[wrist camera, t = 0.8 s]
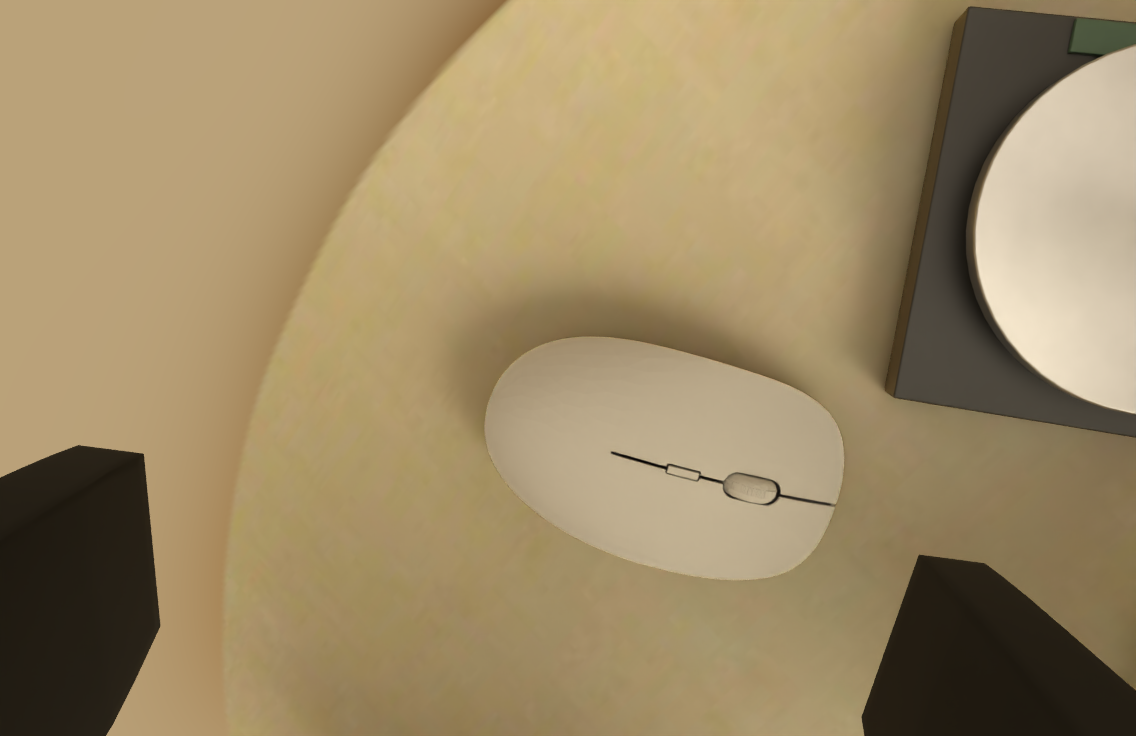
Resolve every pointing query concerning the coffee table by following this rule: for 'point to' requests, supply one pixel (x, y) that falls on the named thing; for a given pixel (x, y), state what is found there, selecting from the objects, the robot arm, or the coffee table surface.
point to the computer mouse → (667, 456)
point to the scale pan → (1064, 234)
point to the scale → (938, 255)
